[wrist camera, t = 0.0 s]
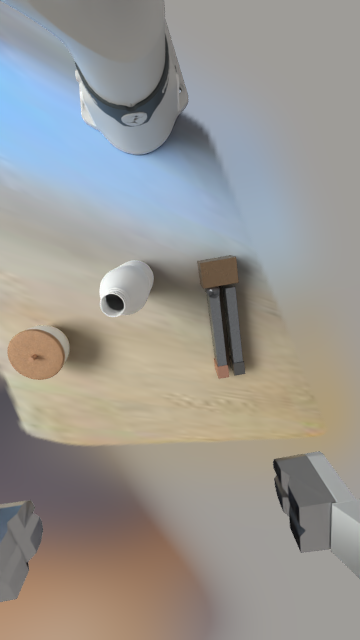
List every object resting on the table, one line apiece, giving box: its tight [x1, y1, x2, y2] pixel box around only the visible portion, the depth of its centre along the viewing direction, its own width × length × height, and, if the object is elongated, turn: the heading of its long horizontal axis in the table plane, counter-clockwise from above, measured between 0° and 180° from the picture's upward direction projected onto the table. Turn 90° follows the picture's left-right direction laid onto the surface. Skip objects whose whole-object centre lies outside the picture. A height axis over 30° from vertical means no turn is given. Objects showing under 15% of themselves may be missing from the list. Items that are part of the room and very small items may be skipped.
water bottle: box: [100, 260, 154, 317], centre depth 42 cm, size 7×7×25 cm
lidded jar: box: [8, 325, 70, 380], centre depth 53 cm, size 11×11×9 cm
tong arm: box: [205, 286, 229, 379], centre depth 56 cm, size 21×3×4 cm, turn 9°
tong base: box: [197, 255, 245, 375], centre depth 55 cm, size 26×7×5 cm, turn 10°
